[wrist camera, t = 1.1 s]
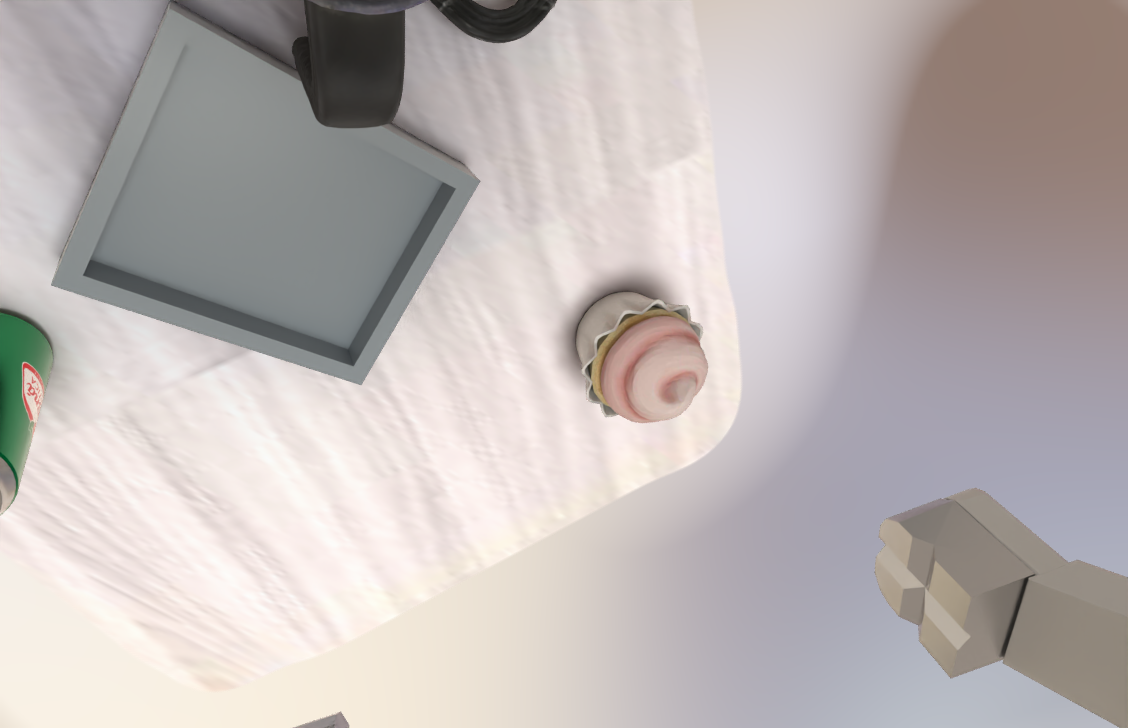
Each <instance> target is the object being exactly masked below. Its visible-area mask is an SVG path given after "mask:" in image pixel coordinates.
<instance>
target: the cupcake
mask: <svg viewBox="0 0 1128 728" xmlns="http://www.w3.org/2000/svg"><path fill="white" fill-rule="evenodd" d="M702 334H703V327H702V326H701V325H700V324H699V323H695V322H692V321H691V317H690V309H689V307H688V305H670V304H665V303H664V302H663V301H661V300H659V299H656V300H652V299H650V298H647V297H645V296H643V295H641V294H638V293H635V292H619V293H613V294H610V295H608V296H606V297H604V298H602V299H600V300H599V301H597V302H596V303H595V304H593V305H592V306H591V307H590V309H589V310H588V311H587V312H586V313H585V315H584V316H583V318H582V320H581V322H580V323H579V326H578V330H577V336H576V348H577V352H578V355H579V358H580V360H581V363H582V370H581V371H582V374H583V375H584V377H585V378H586V400H588V401H589V402H592V403H597V404H600V406H601V410H602V413H603V415H604V416H605V417H613V416H616V415H620V416H622V417H624V418H626V419H628V420H630V421H633V422H638V423H649V422H657V421H663V420H669V419H672V418H674V417H677V416H679V415H681V414H682V413H683V412H684V411H685V410H686V409H687V408H688V407H689V405H690V404H691V402H692V400H693V397H694V396H695V395H696V394H697V393H698V392H699V391H700V389H701V388H702V386H703V384H704V382H705V378H706V375H707V371H708V363H707V360H706V358H705V354H704V351H703V350H702V348H701V347H700V342H699V341H700V339H701V337H702Z"/></svg>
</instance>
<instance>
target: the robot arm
mask: <svg viewBox="0 0 1128 728" xmlns="http://www.w3.org/2000/svg"><path fill="white" fill-rule="evenodd" d="M879 538H880V539H881V540H882V541H883V542H884V543H885V546H884V547H883V548H882V550H881V551H880V553H879V554H878V555H877V557H876V563H875V575H876V578H877V581H878V585H879V588H880V590H881V592H882V594H883V596H884V597H885V599H886V601H887V602H888V604H889V605H890V606H891V607H892V609H893V610H894V611H895V612H896V614H897V615H898V616H899V617H901V618H903V619H905V620H908V621H910V622H912V623H914V624H916V625H918V630H919V641H920V643H921V644H922V645H923V646H924V647H925V648H926V650H927V651H928V652H929V653H930V654H931V656H932V657H933V658H934V659H935V660H936V661H937V662H938V664H939V665H940V666H941V667H942V669H943V670H944V671H945V672H946V673H947V674H948V676H949V677H950V678H953V677H956V676H959V675H962V674H964V673H967V672H970V671H973V670H975V669H978V668H981V667H984V666H986V665H989V664H992V663H995V662H997V661H1000V660H1003V659H1004V660H1003V664H1005V665H1007V666H1009V667H1011V668H1012V669H1014V670H1016V671H1018V672H1020V673H1022V674H1023V675H1025V676H1027V677H1029V678H1031V679H1032V680H1034V681H1036V682H1038V683H1040V684H1042V685H1043V686H1045V687H1047V688H1049V689H1051V690H1052V691H1054V692H1056V693H1058V694H1060V695H1061V696H1063V697H1065V698H1067V699H1069V700H1071V701H1072V702H1074V703H1076V704H1078V705H1080V706H1081V707H1083V708H1085V709H1087V710H1089V711H1090V712H1092V713H1094V714H1096V715H1098V716H1100V717H1101V718H1103V719H1105V720H1107V721H1109V722H1111V723H1112V724H1114V725H1116V726H1118V727H1119V728H1128V577H1125V576H1122V575H1119V574H1116V573H1114V572H1111V571H1108V570H1105V569H1102V568H1099V567H1097V566H1094V565H1091V564H1088V563H1085V562H1082V561H1080V560H1075V561H1072V562H1067V561H1066V560H1065V559H1064V558H1063V557H1062V556H1060V555H1059V554H1058V553H1057V552H1056V551H1054V550H1053V549H1052V548H1051V547H1050V546H1049V545H1047V544H1046V543H1045V542H1044V541H1043V540H1041V539H1040V538H1039V537H1038V536H1037V535H1036V534H1034V533H1033V532H1032V531H1031V530H1030V529H1029V528H1027V527H1026V526H1025V525H1024V524H1023V523H1022V522H1020V521H1019V520H1018V519H1017V518H1016V517H1014V516H1013V515H1012V514H1011V513H1010V512H1009V511H1007V510H1006V509H1005V508H1004V507H1003V506H1002V505H1000V504H999V503H998V502H997V501H996V500H994V499H993V498H992V497H991V496H990V495H989V494H987V493H986V492H985V491H982V490H980V489H977V488H972V489H968V490H965V491H962V492H960V493H957V494H954V495H952V496H949V497H947V498H944V499H938V500H935V501H932V502H930V503H927V504H924V505H921V506H919V507H916V508H913V509H911V510H908V511H905V512H903V513H900V514H897V515H894V516H892V517H889V518H887V519H885V520H884V522H883V523H882V524H881V525H880V532H879ZM293 728H349V724H348V722H347V721H346V719H345V718H344V716H343V714H342V713H341V712H338V713H336V714H332V715H329V716H326V717H323V718H320V719H317V720H314V721H312V722H309V723H305V724H302V725H300V726H297V727H293Z"/></svg>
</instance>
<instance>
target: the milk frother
mask: <svg viewBox="0 0 1128 728" xmlns="http://www.w3.org/2000/svg"><path fill="white" fill-rule="evenodd" d="M427 1H428V0H304V4H305V14H306V22H307V30H308V37H300V38H297V39H296V40H295V41H294V43H293V47H292V53H293V55H294V58H295V63H296V68H297V71H298V74H299V76H300V79H301V81H302V84H303V87H304V90H305V92H306V95H307V97H308V99H309V102H310V105H311V108H312V110H313V113H314V115H315V118H316V120H317V121H318V122H319V123H321V124H322V125H324V126H326V127H333V128H370V127H378V126H382V125H385V124H388V123H390V122H392V120H393V119H394V117H395V115H396V113H397V111H398V108H399V105H400V101H401V96H402V90H403V79H404V66H405V10H406V9H409V8H411V7H414V6H416V5H419V4H421V3H424V2H427ZM430 1H431V2H432V3H433V4H434V5H435V6H436V7H437V8H438V9H439V10H440V11H441V12H442V13H443V14H444V15H445V16H446V17H447V18H448V19H449V20H450V21H451V22H452V23H454V24H455V25H456V26H457V27H458V28H459V29H460V30H462V31H463V32H465V33H466V34H468V35H470V36H472V37H474V38H477V39H479V40H483V41H486V42H492V43H505V42H510V41H514V40H517V39H519V38H521V37H523V36H525V35H527V34H528V33H530V32H531V31H532V30H533V29H534V28H535V27H536V26H537V25H538V24H539V23H540V22H541V21H542V20H543V19H544V18H545V16H546V15H547V14H548V12H549V11H550V10H551V9H552V8H553V7H554V6H555V3H556V1H557V0H518V1H517V3H516V4H515V5H513V6H511V7H509V8H508V9H504V10H493V9H488V8H485V7H483V6H481V5H479V4H477V3H476V2H474V1H472V0H430Z"/></svg>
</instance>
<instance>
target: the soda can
mask: <svg viewBox="0 0 1128 728" xmlns="http://www.w3.org/2000/svg"><path fill="white" fill-rule="evenodd" d="M52 364H53V354H52V349H51V347H50V345H49V342H48V341H47V339H46V338H45V337H44V335H43V334H42V333H41V332H40V331H39V330H38V329H36V328H35V327H34V326H32V325H31V324H29V323H27V322H26V321H24V320H22V319H19V318H17V317H15V316H11V315H8V314H4V313H0V515H1V514H3V513H4V512H5V511H6V510H7V509H8V508H9V507H10V505H11V504H12V503H13V501H14V499H15V497H16V495H17V493H18V489H19V485H20V482H21V478H22V474H23V471H24V467H25V463H26V460H27V456H28V453H29V449H30V445H31V442H32V438H33V434H34V431H35V427H36V423H37V420H38V416H39V413H40V409H41V405H42V402H43V398H44V394H45V391H46V387H47V383H48V380H49V376H50V373H51V369H52Z"/></svg>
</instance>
